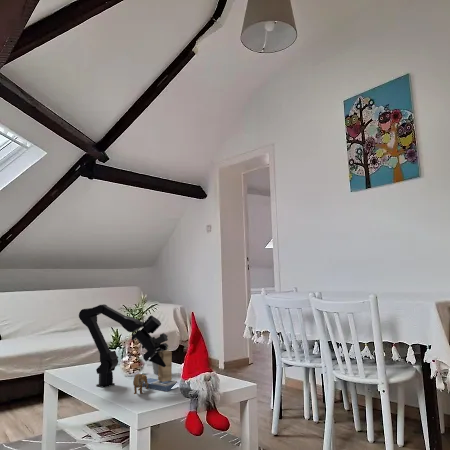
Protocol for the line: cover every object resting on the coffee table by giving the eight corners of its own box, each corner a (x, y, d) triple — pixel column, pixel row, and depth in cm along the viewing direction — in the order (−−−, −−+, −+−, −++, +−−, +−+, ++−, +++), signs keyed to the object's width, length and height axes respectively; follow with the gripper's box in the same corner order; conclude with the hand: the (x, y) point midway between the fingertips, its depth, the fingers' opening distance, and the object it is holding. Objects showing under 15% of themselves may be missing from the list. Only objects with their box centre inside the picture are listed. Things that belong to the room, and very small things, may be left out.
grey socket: (152, 384, 187) (152, 382, 187) (164, 380, 194) (164, 378, 194) (165, 386, 182) (165, 384, 183) (177, 382, 189) (177, 380, 189)
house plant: (170, 376, 210) (170, 344, 213) (143, 377, 210) (144, 344, 212) (173, 370, 224) (173, 340, 227) (148, 371, 224) (149, 341, 227)
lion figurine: (143, 396, 175) (143, 374, 176) (131, 396, 175) (131, 374, 176) (149, 387, 189) (149, 367, 190) (138, 387, 189) (138, 367, 190)
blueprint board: (137, 386, 192) (137, 381, 192) (149, 382, 199) (149, 377, 199) (166, 391, 181) (166, 386, 182) (179, 387, 188) (179, 382, 189)
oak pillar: (158, 380, 188) (158, 351, 190) (166, 378, 191) (166, 350, 193) (163, 381, 185) (163, 352, 187) (171, 380, 188) (171, 351, 190)
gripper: (150, 330, 183) (172, 356, 179) (164, 326, 201) (185, 349, 198) (133, 348, 184) (155, 374, 180) (149, 342, 202) (170, 365, 198)
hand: (167, 365), depth 189 cm, fingers closed on oak pillar, 6 cm apart
